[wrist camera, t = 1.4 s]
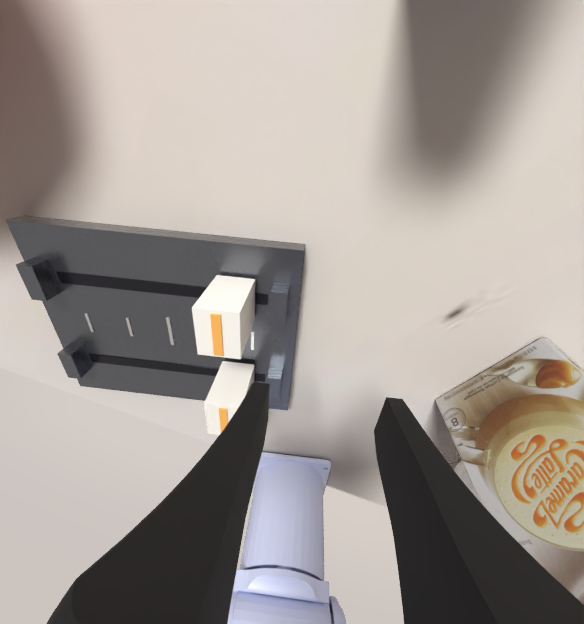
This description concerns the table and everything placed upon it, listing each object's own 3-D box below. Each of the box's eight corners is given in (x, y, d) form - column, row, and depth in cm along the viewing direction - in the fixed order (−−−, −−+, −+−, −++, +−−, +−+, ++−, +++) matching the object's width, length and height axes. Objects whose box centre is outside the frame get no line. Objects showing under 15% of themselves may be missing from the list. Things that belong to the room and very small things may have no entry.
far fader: (254, 392, 22) (242, 439, 19) (224, 389, 22) (207, 434, 19) (254, 364, 21) (241, 409, 17) (222, 360, 21) (203, 405, 17)
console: (288, 399, 25) (286, 422, 23) (90, 376, 25) (69, 396, 23) (305, 244, 17) (303, 258, 15) (24, 215, 18) (-15, 225, 16)
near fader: (254, 319, 19) (240, 360, 15) (219, 316, 19) (196, 355, 15) (255, 279, 17) (239, 314, 14) (216, 275, 17) (190, 308, 14)
